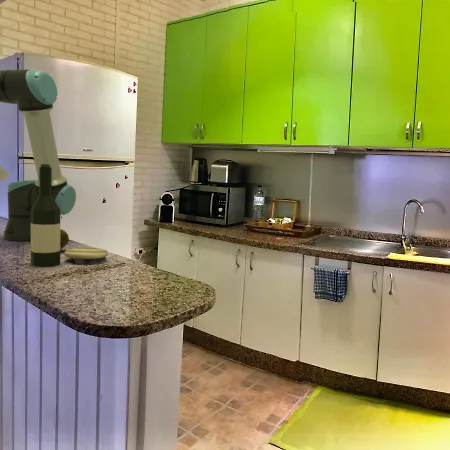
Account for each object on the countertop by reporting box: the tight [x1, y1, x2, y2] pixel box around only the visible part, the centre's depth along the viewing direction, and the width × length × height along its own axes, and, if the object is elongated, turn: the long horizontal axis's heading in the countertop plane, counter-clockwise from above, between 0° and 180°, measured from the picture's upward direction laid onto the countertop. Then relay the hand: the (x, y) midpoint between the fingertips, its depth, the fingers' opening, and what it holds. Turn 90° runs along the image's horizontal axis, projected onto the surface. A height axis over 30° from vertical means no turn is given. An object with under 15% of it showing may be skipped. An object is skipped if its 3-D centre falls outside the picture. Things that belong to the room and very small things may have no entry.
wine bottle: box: [30, 164, 61, 268], centre depth 137 cm, size 8×8×30 cm
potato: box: [60, 228, 70, 250], centre depth 160 cm, size 8×13×8 cm, turn 31°
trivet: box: [64, 247, 108, 265], centre depth 146 cm, size 13×13×3 cm
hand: (4, 177), depth 130 cm, fingers open, 13 cm apart
